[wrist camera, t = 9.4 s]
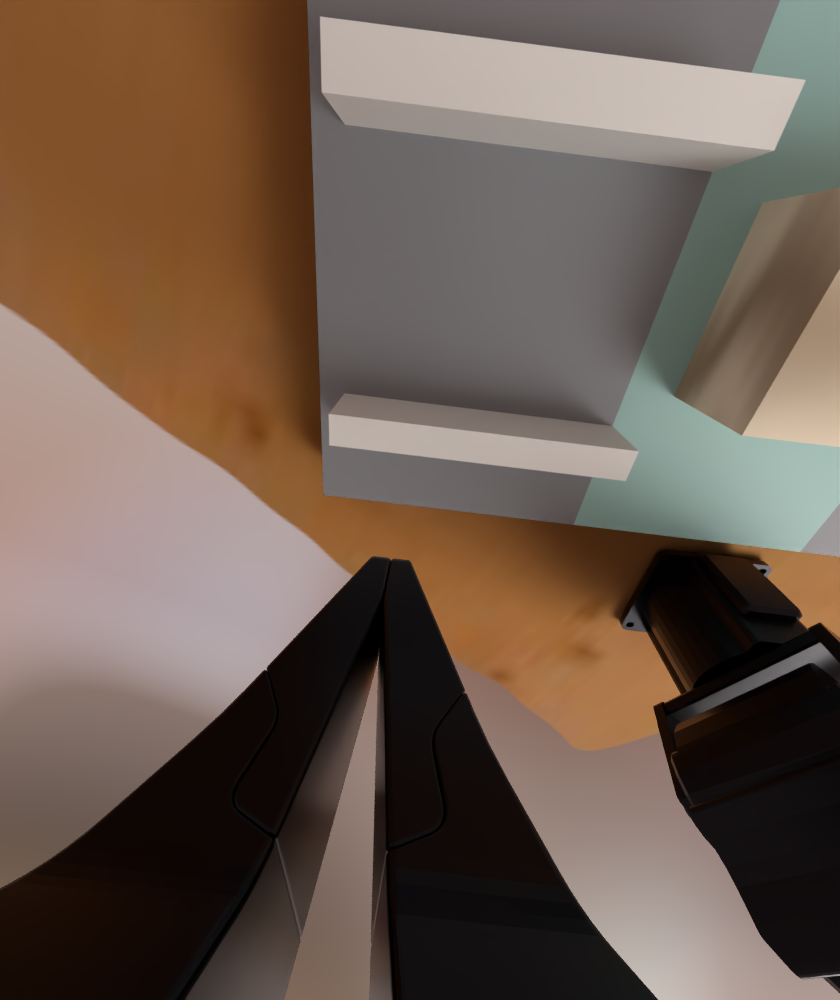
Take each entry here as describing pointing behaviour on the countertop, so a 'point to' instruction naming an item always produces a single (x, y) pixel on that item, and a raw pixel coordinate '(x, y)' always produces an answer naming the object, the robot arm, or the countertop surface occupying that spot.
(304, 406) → the countertop surface
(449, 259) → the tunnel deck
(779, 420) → the beech block
